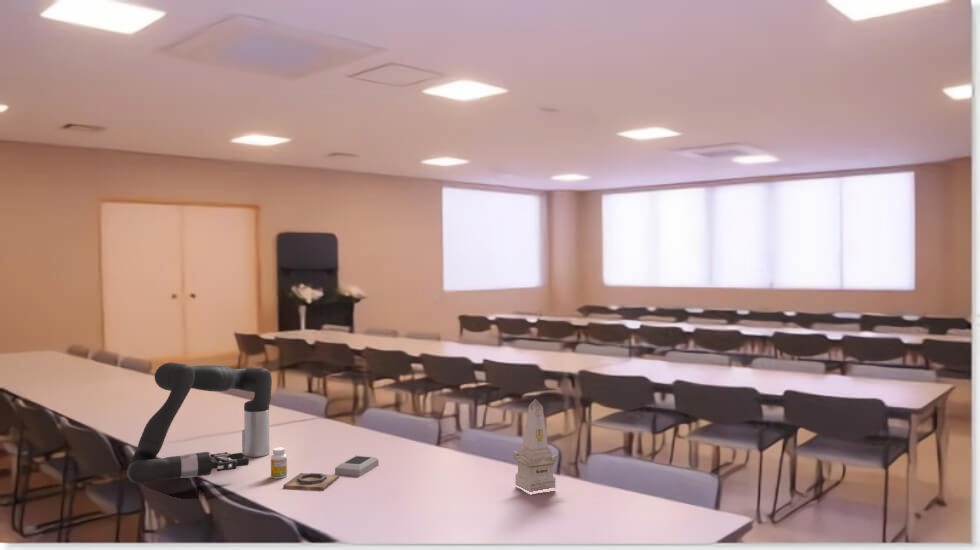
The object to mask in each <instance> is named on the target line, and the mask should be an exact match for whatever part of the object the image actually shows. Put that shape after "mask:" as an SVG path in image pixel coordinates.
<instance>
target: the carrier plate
mask: <svg viewBox="0 0 980 550" xmlns="http://www.w3.org/2000/svg"><path fill="white" fill-rule="evenodd" d="M339 478H340V475H339V474H326V473H325V474H324V473H320V472H319V473H317V472H310V473H309V472H308V473H304V472H300V473H299V474H297V475H296V476H294V477H293V478H292V479H290V480H289V481H287V482H285V483H284V484H283V486H282V487H283V489H291V490H294V489H295V490H306V489H310V491H325V490H326V489H327V488H328V486H329V487H330V486H331V485H332V484H334V483H335V482H336V481H337V480H338V479H339Z"/></svg>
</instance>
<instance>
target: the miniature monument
mask: <svg viewBox="0 0 980 550" xmlns="http://www.w3.org/2000/svg"><path fill="white" fill-rule="evenodd" d="M526 415H527V417H526V422H525V428H524V429H525V430H524V433H523V441H522V445H521V446H520V449H519V450H518V451H516V450H514V451H513V459H514V460H516V461H517V473H515V485H517V486H519V487H521V488H523V489H525V490H527V491H529V492H533V491H538V490H543V489H549V488H555V489H556V477H555V476H554V464H556V463H558V454H555V455H553V453H552V452H551V448H550V447H549V445H548V443H549V442H548V436H547V430H546V423H545V416H544V408H543V405H542V404H541V403H540V402H539V401H538V400H537V399H536V398H535V399H534V400H533V401H531V403H529V404H528V410H527V414H526Z"/></svg>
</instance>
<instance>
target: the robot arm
mask: <svg viewBox="0 0 980 550" xmlns="http://www.w3.org/2000/svg"><path fill="white" fill-rule="evenodd" d="M272 380H273V379H272V373H271V371H270V370H269V369H267V368H265V367H264V368H263V367H244V368H232V367H229V366H225V365H215V364H214V365H212V364H211V365H208V364H207V365H206V364H205V365H195V366H194V365H192V366H191V365H189V364H186V363H179V362H178V363H177V362H166V363H164V364H161V365H160V366H159V367H158V368H157V369H156V371H155V373H154V381H155V384H156V385H157V386H158V387H159V388H161V389H162V390H165V391H170V393H169V395H168V397H167V398H166V400H165V402H164V403H163V405H161V407H160V408H159V409H158V410H157V412H155V413H154V414H153V415H152V416H151V418H150V419H149V420H148V421H147V423H146V424H145V426H144V429H143V431H142V433H141V436H140V439H139V441H138V445H137V448H136V449H135V452H134V454H133V456H132V458H131V460H130V463H128V464H129V465H128V466H127V469H126V477H127V479H128V481H130V482H131V483H133V484H142V483H149V482H154V481H159V480H160V481H161V480H174V479H181V478H185V479H186V478H195V477H202V476H203V477H204V476H210V475H211V474H212V469H216V472H221V471H223V472H224V471H231V470H233V471H234V470H236V469H237V468H238V467H245V466H249V465H250V463H249V458H257V457H264V456H268V455H269V454H270V450H271V449H270V404H271V400H272V385H273V384H272ZM191 389H194V390H198V391H206V392H226V391H229V390H232V389H233V390H240V391H244V392H250V393H254V396H253V399H251V400H248V401H246V402H245V403H244V404H243V413H244V414H243V419H244V421H243V423H244V424H243V427H244V429H243V430H242V432H241V450H242V451H241V452H237V453H236V452H235V453H231V452H227V451H225V452H219V453H210V451H202V452H196V453H195V452H191V453H187V454H183V455H174V456H167V457H163V458H157V455H158V454H159V453H160V451H161V449H162V448H163V445H164V442H165V439H166V437H167V434H168V431H169V429H170V427H171V425H172V422H174V419H175V417H176V415H177V414H178V412H179V410H180V408H181V406H182V405H183V403H184V401H185V399H186V398H187V396H188V394H189V393H190V392H191V391H190V390H191ZM243 456H244V457H246V458H244V457H243ZM247 457H248V458H247Z"/></svg>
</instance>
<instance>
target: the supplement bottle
mask: <svg viewBox="0 0 980 550" xmlns="http://www.w3.org/2000/svg"><path fill="white" fill-rule="evenodd" d="M287 476H288V456H287V454H286V448H285V447H280V446H279V447H275V448H273V449H272V455H271V457H270V477H271V478H272V479H284V478H286V477H287Z"/></svg>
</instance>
